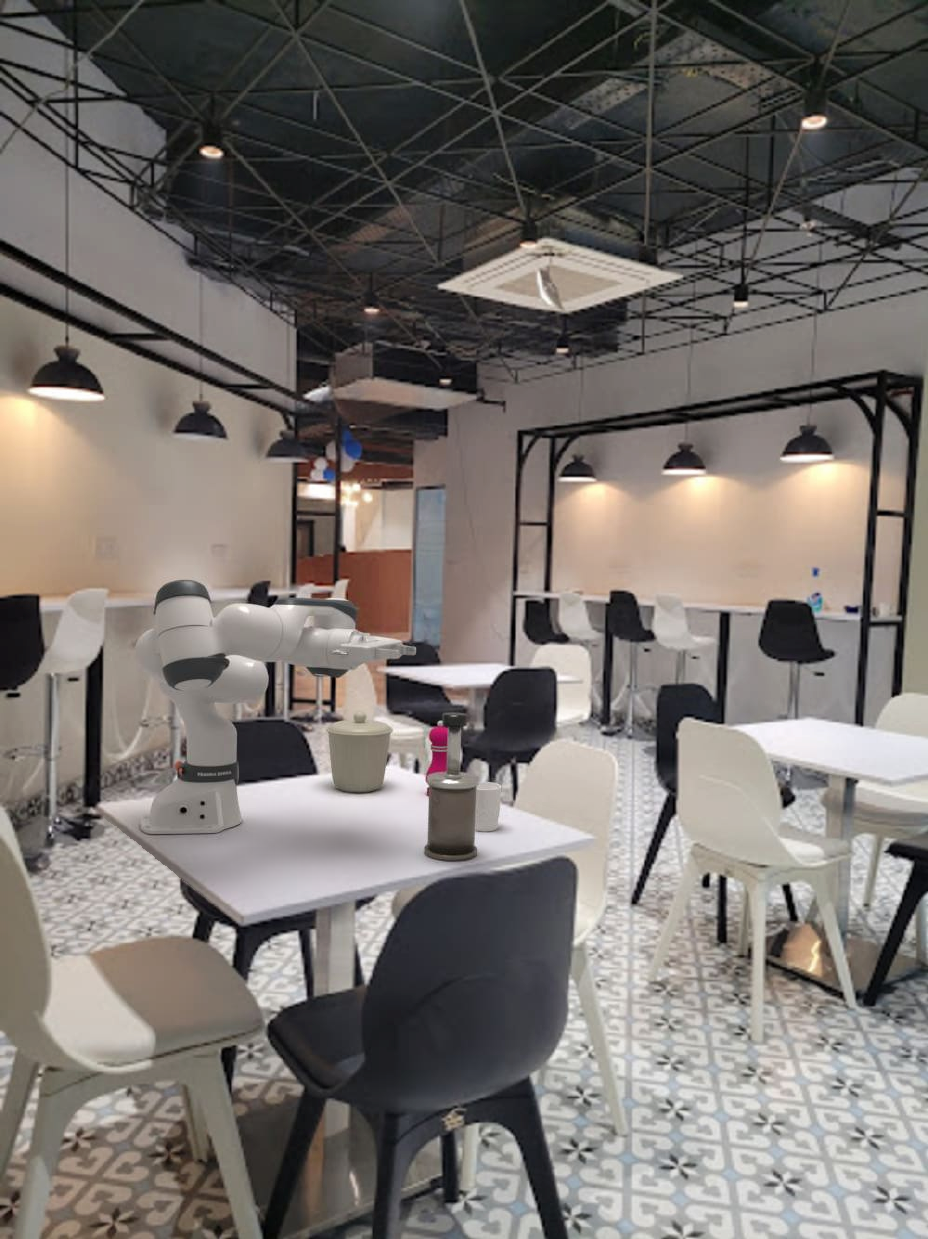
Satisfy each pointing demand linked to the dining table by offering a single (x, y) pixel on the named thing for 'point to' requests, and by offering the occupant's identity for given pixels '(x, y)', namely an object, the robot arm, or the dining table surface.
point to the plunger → (454, 740)
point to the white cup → (487, 806)
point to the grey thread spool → (451, 816)
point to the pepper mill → (438, 750)
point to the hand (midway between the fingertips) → (407, 652)
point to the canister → (358, 753)
